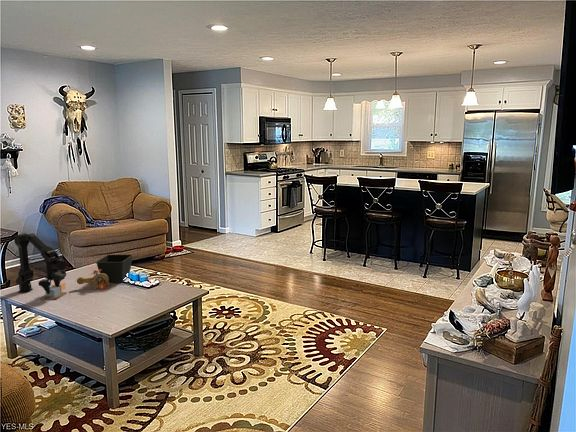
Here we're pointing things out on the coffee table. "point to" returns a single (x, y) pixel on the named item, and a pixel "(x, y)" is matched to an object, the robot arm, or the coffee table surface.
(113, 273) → the flower pot
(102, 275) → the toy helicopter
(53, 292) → the slate-blue block
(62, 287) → the terracotta block
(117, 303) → the coffee table surface
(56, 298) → the walnut base plate
